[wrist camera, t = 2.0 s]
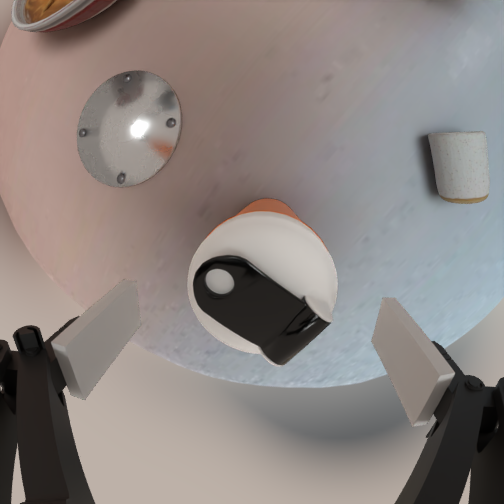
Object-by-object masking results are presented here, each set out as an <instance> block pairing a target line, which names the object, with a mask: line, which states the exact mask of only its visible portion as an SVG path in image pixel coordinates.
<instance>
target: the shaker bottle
mask: <svg viewBox="0 0 504 504" xmlns="http://www.w3.org/2000/svg"><path fill="white" fill-rule="evenodd" d="M187 287H188V297H189V300H190V303H191V306H192V309H193V311H194V313H195V315H196V317H197V318H198V320H199V321H200V323H201V324H202V325H203V326H204V328H205V329H206V330H207V331H208V332H209V333H210V334H212V335H213V336H214V337H215V338H216V339H218V340H219V341H221V342H223V343H224V344H226V345H228V346H230V347H232V348H235V349H237V350H240V351H243V352H248V353H253V354H262V356H263V357H264V358H265V359H266V360H267V361H268V362H269V363H271V364H272V365H275V366H278V367H281V366H283V365H285V364H286V363H287V362H289V361H290V360H291V359H292V358H293V357H294V356H295V355H297V354H298V353H299V352H300V351H301V350H302V349H303V348H305V347H306V346H307V345H308V344H309V343H310V342H311V341H312V340H313V339H315V338H316V337H317V336H318V335H319V334H320V333H321V332H322V331H323V330H324V329H325V328H326V327H327V326H329V325H330V324H331V322H332V321H333V316H332V311H333V308H334V305H335V302H336V299H337V291H338V280H337V272H336V269H335V265H334V262H333V259H332V257H331V256H330V254H329V252H328V250H327V248H326V246H325V245H324V243H323V241H322V240H321V238H320V237H319V236H318V235H317V234H316V233H315V232H314V231H313V229H312V228H310V227H309V226H308V225H306V224H305V223H303V222H302V221H301V220H300V219H299V218H298V217H297V215H296V214H295V213H294V212H293V211H292V210H291V209H290V208H289V207H288V206H287V205H286V204H284V203H283V202H281V201H278V200H275V199H260V200H257V201H254V202H252V203H251V204H249V205H248V206H247V207H245V208H244V209H243V210H242V211H240V212H239V213H238V214H237V215H236V216H233V217H231V218H229V219H227V220H225V221H224V222H222V223H221V224H219V225H218V226H216V227H215V228H214V229H213V230H212V231H211V233H210V234H209V235H208V236H207V237H206V238H205V240H204V241H203V242H202V243H201V244H200V246H199V248H198V249H197V251H196V253H195V254H194V256H193V258H192V261H191V264H190V267H189V271H188V279H187Z"/></svg>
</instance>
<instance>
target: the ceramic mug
mask: <svg viewBox="0 0 504 504" xmlns="http://www.w3.org/2000/svg"><path fill="white" fill-rule="evenodd" d="M428 138H429V143H430V148H431V153H432V159H433V164H434V170H435V178H436V185H437V189H438V192H439V195H440V197H441V198H442V199H443V200H445V201H448V202H452V203H459V204H471V203H478V202H482V201H484V200H485V199H486V198H487V197H488V194H489V184H490V178H489V167H488V152H487V141H486V135H485V132H483V131H476V132H449V133H433V134H428Z"/></svg>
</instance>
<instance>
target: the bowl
mask: <svg viewBox="0 0 504 504" xmlns="http://www.w3.org/2000/svg"><path fill="white" fill-rule="evenodd" d="M116 1H117V0H14V2H13V6H12V11H11V14H12V22H13V24H14V26H15V27H17V28H18V29H20V30H24V31H30V32H50V31H56V30H61V29H65V28H68V27H71V26H75V25H77V24H79V23H81V22H84V21H86V20H88V19H90V18H92V17H94V16H96V15H97V14H99V13H101V12H103V11H104V10H105V9H107V8H108V7H110V6H111V5H112V4H113V3H115V2H116Z"/></svg>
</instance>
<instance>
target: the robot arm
mask: <svg viewBox="0 0 504 504" xmlns="http://www.w3.org/2000/svg"><path fill="white" fill-rule="evenodd" d="M140 326H141V317H140V310H139V302H138V293H137V283H136V281H135V280H127V279H124V280H123V281H121V282H120V283H119V284H118V285H116V286H115V287H114V288H113V289H112V290H110V291H109V292H108V293H107V294H106V295H104V296H103V297H102V298H101V299H100V300H98V301H97V302H96V303H95V304H94V305H93V306H91V307H90V308H89V309H88V310H87V311H86V312H84V313H83V314H82V315H81V316H78V317H75V318H73V319H71V320H69V321H68V322H67V323H66V324H65V325H64V326H63V327H62V328H60V329H59V331H57V332H55V333H54V334H53V335H52V336H51V337H50V338H49V339H48V340H46V341H45V342H44V341H43V338H42V335H41V332H40V328H38V327H37V326H32V325H30V326H24V327H22V328H19V329H18V330H16V331H15V332H14V334H13V338H14V341H15V344H16V346H17V349H18V351H11V350H10V348H9V345H8V342H7V341H5V340H0V385H1V387H2V391H1V390H0V504H11V493H12V480H13V471H14V463H15V455H16V449H17V443H18V450H19V460H20V468H21V474H22V480H23V486H24V492H25V497H26V500H25V502H23V503H20V504H95V502H94V500H93V497H92V494H91V492H90V489H89V486H88V483H87V481H86V478H85V475H84V472H83V469H82V466H81V462H80V459H79V456H78V452H77V449H76V445H75V441H74V437H73V433H72V429H71V425H70V420H69V416H68V410H67V405H66V400H65V395H64V393H63V391H62V390H63V389H64V388H65V386H66V385H67V387H68V389H69V392H70V394H71V395H72V396H74V397H77V398H80V399H82V400H85V399H86V398H87V397H88V395H89V394H90V392H91V391H92V390H93V388H94V387H95V386H96V384H97V383H98V381H99V380H100V379H101V377H102V376H103V375H104V373H105V372H106V370H107V369H108V368H109V367H110V365H111V364H112V363H113V361H114V360H115V359H116V357H117V356H118V354H119V353H120V352H121V351H122V349H123V348H124V346H125V345H126V344H127V342H128V341H129V340H130V339H131V338H132V336H133V335H134V334H135V332H136V331H137V330H138V329H139V327H140ZM371 342H372V344H373V346H374V347H375V349H376V351H377V353H378V355H379V357H380V359H381V361H382V363H383V365H384V367H385V369H386V371H387V373H388V375H389V377H390V380H391V382H392V384H393V386H394V388H395V390H396V392H397V394H398V396H399V399H400V401H401V403H402V405H403V407H404V409H405V412H406V414H407V416H408V418H409V421H410V423H411V425H412V426H413V427H414V426H419V425H424V424H427V423H428V422H429V420H430V418H431V417H432V415H433V414H434V416H435V417H436V419H437V420H436V422H435V423H434V425H433V426H432V428H431V430H430V431H429V433H428V434H427V436H426V438H428V439H427V442H426V444H425V446H424V449H423V451H422V453H421V455H420V458H419V460H418V461H417V464H416V466H415V468H414V470H413V472H412V474H411V476H410V477H409V479H408V481H407V483H406V485H405V487H404V488H403V490H402V492H401V494H400V495H399V497H398V499H397V501H396V502H395V504H459V502H460V499H461V496H462V493H463V490H464V488H465V485H466V482H467V478H468V475H469V472H470V468H471V478H470V493H469V503H468V504H504V377H503V378H501V379H500V380H499V381H498V384H497V385H496V387H485V385H484V384H483V382H482V381H481V380H480V379H479V378H477V377H475V376H471V375H464V374H463V372H462V371H461V370H460V368H459V367H458V366H457V365H456V363H455V362H454V361H453V360H452V359H451V357H450V356H449V355H448V354H447V352H446V351H445V349H444V348H443V347H442V346H441V345H439V344H438V343H436V342H435V341H430V339H429V338H428V337H427V336H426V334H425V333H424V332H423V331H422V329H421V328H420V327H419V326H418V324H417V323H416V322H415V321H414V320H413V318H412V317H411V316H410V315H409V314H408V312H407V311H406V310H405V309H404V308H403V307H402V305H401V304H400V303H399V302H398V301H397V300H396V298H382V302H381V307H380V311H379V315H378V319H377V323H376V326H375V330H374V334H373V337H372V341H371ZM497 427H498V428H497Z"/></svg>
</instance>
